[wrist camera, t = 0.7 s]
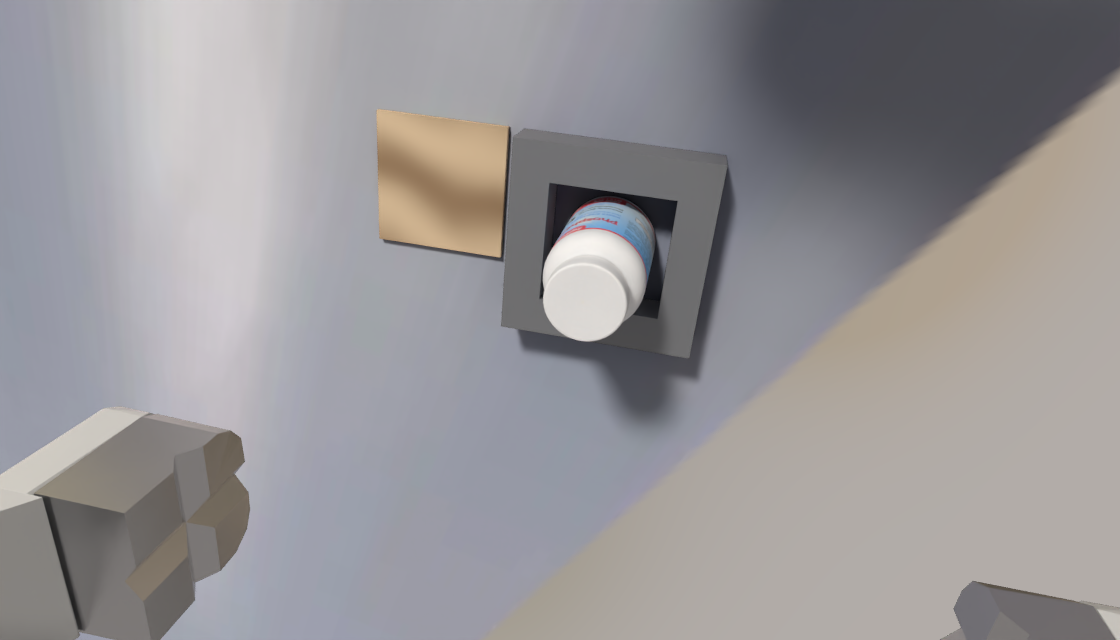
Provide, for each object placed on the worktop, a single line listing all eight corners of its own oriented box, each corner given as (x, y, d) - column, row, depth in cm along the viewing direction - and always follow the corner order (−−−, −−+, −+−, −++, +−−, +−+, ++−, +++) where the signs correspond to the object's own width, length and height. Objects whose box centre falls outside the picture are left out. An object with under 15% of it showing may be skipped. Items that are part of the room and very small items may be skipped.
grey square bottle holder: (524, 128, 45) (512, 136, 42) (726, 155, 43) (727, 165, 41) (512, 308, 51) (501, 326, 48) (690, 338, 49) (689, 358, 46)
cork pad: (379, 109, 46) (376, 110, 46) (509, 126, 45) (508, 127, 45) (381, 236, 50) (379, 238, 50) (501, 255, 49) (500, 257, 49)
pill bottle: (619, 175, 45) (594, 226, 35) (673, 248, 46) (664, 317, 36) (549, 227, 48) (507, 289, 38) (602, 295, 49) (575, 372, 39)
